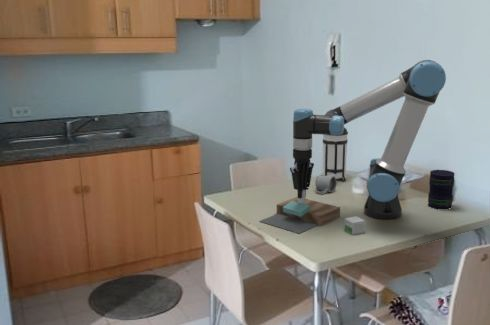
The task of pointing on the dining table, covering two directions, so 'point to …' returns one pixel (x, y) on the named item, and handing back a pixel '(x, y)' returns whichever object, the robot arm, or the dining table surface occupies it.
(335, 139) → the coffee press
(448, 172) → the storage jar
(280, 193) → the dining table surface
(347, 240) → the dining table surface
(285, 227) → the mat
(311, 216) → the board
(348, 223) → the small box
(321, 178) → the ceramic mug
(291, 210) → the card
